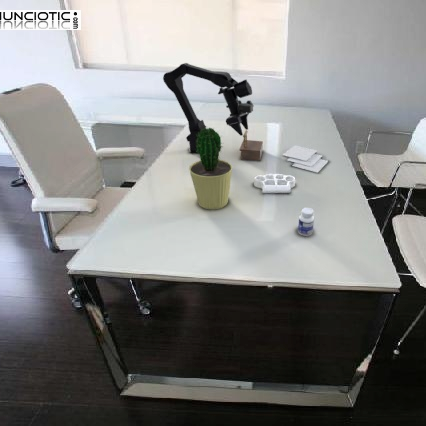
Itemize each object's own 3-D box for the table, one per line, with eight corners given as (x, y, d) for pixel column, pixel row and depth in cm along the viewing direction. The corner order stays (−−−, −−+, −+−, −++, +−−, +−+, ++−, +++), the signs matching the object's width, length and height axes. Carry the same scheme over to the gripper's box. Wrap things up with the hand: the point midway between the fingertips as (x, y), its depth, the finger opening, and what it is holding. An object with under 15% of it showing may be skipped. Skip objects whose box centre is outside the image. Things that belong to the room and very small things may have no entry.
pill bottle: (296, 227, 113) (299, 206, 108) (311, 227, 114) (314, 206, 109) (298, 236, 109) (300, 214, 104) (313, 236, 109) (316, 215, 104)
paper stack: (333, 155, 172) (333, 154, 171) (317, 172, 152) (317, 171, 152) (294, 146, 179) (294, 145, 179) (274, 161, 160) (274, 160, 159)
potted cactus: (214, 217, 115) (208, 137, 98) (184, 203, 121) (174, 126, 105) (241, 200, 126) (240, 126, 109) (212, 188, 132) (207, 117, 116)
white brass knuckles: (255, 195, 130) (253, 178, 142) (297, 194, 133) (292, 179, 145) (255, 188, 128) (253, 172, 140) (298, 187, 131) (293, 172, 143)
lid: (239, 150, 156) (239, 136, 153) (243, 141, 168) (243, 127, 164) (260, 152, 157) (260, 138, 153) (262, 142, 168) (263, 129, 164)
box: (241, 159, 159) (240, 150, 157) (244, 149, 170) (244, 141, 168) (259, 161, 159) (260, 152, 157) (262, 150, 171) (262, 142, 168)
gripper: (241, 100, 137) (254, 134, 144) (252, 91, 153) (263, 122, 160) (219, 107, 141) (232, 140, 148) (232, 98, 156) (244, 128, 163)
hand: (244, 132), depth 155 cm, fingers open, 9 cm apart
